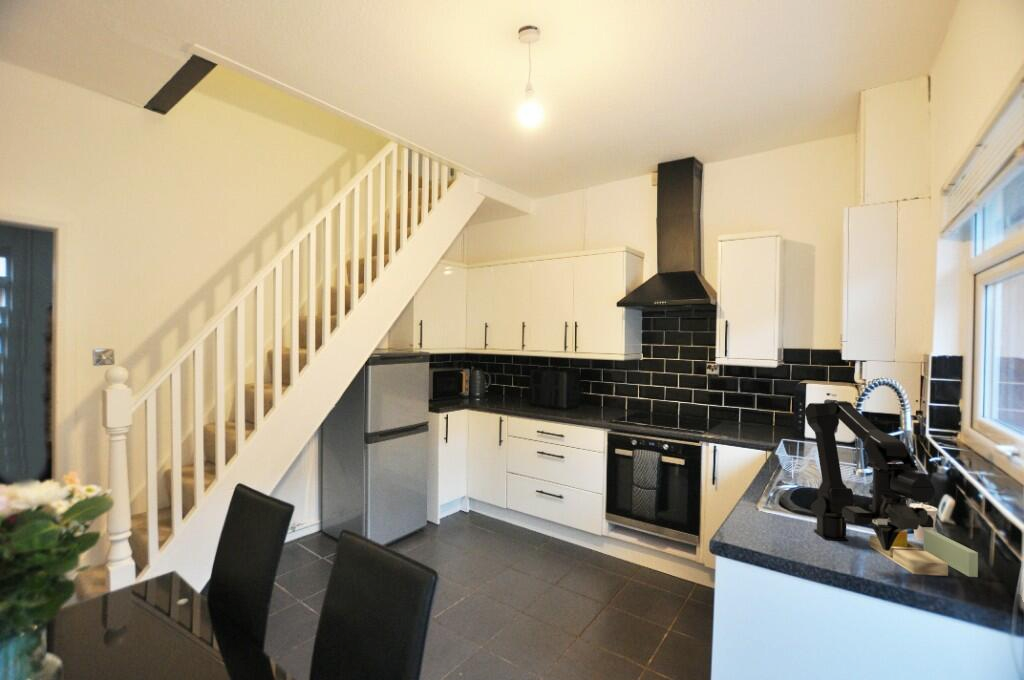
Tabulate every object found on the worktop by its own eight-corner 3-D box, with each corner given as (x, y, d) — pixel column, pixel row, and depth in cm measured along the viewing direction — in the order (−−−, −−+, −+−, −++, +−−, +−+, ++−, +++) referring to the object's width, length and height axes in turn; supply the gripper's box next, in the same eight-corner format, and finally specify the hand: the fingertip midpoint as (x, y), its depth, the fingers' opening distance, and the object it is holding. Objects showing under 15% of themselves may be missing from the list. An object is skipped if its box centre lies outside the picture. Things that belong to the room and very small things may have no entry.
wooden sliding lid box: (913, 574, 116) (913, 562, 116) (869, 545, 132) (869, 535, 132) (947, 575, 116) (948, 563, 116) (899, 547, 132) (899, 536, 132)
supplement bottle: (912, 556, 125) (912, 520, 125) (889, 554, 126) (889, 518, 126) (899, 547, 130) (900, 513, 130) (877, 545, 131) (878, 511, 131)
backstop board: (968, 576, 115) (969, 552, 115) (923, 551, 129) (923, 529, 129) (977, 577, 115) (977, 552, 115) (931, 551, 129) (931, 529, 129)
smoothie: (903, 535, 140) (903, 488, 140) (922, 535, 140) (923, 488, 140) (923, 544, 133) (924, 496, 133) (944, 544, 134) (944, 495, 134)
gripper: (870, 498, 112) (869, 563, 112) (953, 501, 110) (952, 567, 110) (840, 484, 123) (840, 543, 123) (916, 486, 121) (915, 546, 121)
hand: (886, 550), depth 119 cm, fingers closed
